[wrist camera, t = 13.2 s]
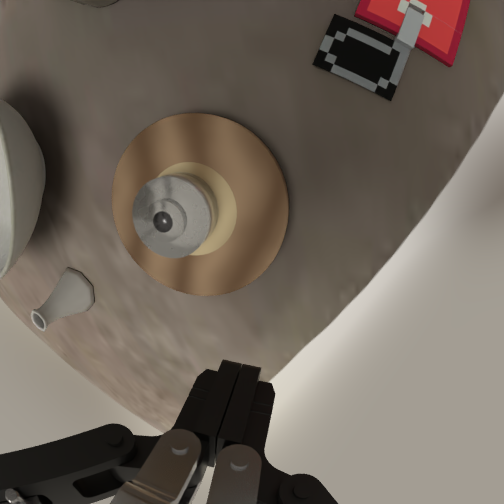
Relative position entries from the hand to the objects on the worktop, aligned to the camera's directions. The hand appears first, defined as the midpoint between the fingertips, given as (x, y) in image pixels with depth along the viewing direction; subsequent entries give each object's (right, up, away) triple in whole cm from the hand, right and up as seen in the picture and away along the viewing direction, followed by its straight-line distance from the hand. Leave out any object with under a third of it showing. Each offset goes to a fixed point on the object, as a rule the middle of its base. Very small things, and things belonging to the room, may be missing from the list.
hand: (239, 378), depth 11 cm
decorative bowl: (-35, +18, +26) cm, 47 cm away
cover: (-7, +9, +20) cm, 23 cm away
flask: (-27, -1, +31) cm, 41 cm away
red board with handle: (+17, +34, +9) cm, 39 cm away
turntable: (-5, +10, +22) cm, 25 cm away
